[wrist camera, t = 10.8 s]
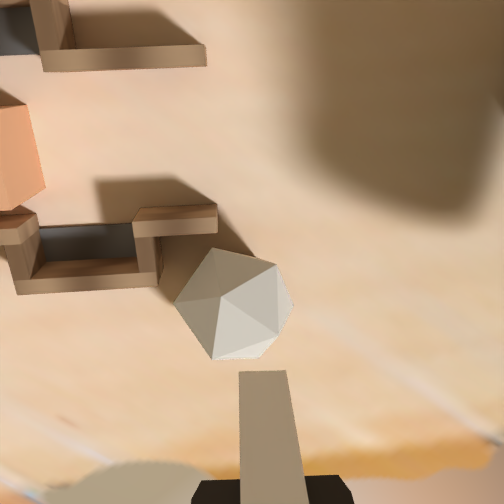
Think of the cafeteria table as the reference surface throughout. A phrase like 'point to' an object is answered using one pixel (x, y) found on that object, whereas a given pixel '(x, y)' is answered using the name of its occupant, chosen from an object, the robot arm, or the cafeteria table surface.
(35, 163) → the block
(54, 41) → the trap lane
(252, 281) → the die
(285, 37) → the cafeteria table surface
